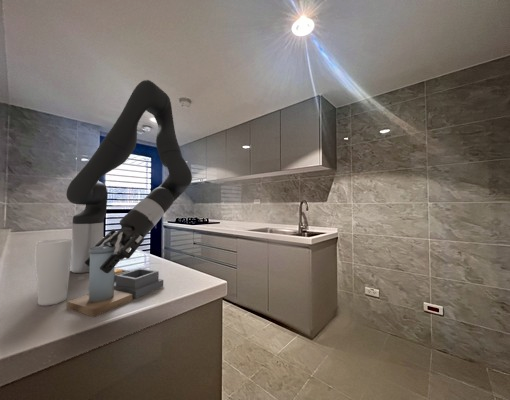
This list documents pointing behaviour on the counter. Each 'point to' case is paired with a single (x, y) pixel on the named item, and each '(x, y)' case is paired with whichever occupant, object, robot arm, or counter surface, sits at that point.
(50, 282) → the drinking glass
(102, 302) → the walnut board
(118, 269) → the button
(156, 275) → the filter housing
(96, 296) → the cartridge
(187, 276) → the counter surface
